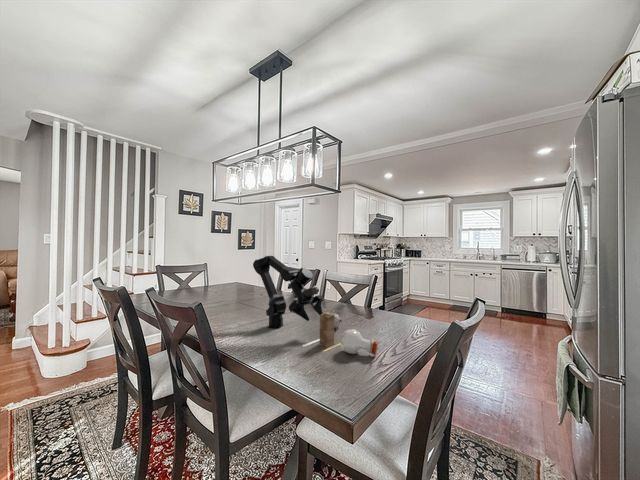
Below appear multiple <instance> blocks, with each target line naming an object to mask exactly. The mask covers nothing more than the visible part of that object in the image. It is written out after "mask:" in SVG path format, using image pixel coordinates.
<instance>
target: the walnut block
mask: <svg viewBox="0 0 640 480" xmlns="http://www.w3.org/2000/svg"><path fill="white" fill-rule="evenodd" d="M334 314H335V313H332V314H331V312H330V313H329V312H323V314H321V315H319V339H320V341H319V345H320V346H323V347H326V348H328V347H329V348H330V347H332V346H335V328H334V316H335V315H334Z"/></svg>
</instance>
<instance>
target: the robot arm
mask: <svg viewBox="0 0 640 480" xmlns="http://www.w3.org/2000/svg"><path fill="white" fill-rule="evenodd" d="M252 266H253V269H254V271H255V272H256V274H258V275H259V276H260V278H261V280H262V283H263V285H264V288H265V291H266V293H267V296H268V299H269V301H268V308H267V310H266V311H265V313H266V314H265V315H266V316H268V325H267V328H271V329H280V328H281V327H283V326H284V318H283V315H285V314H286V309H287V302H286V300H285V297H284V296H283V295H281V296H280V295H279V294H278V290H277V289H276V286H275V283H274V281H273V278H272V276H271V274H270V268H272V269H274V270H275V271H276V272H278V273H279V274H280V277H281V278H282V279H283V281H285V282H290V283H288V284H287V285H288V286H287V289H288V290H290V289H291V291H292V292H293V294H294V296H293V298H294V300H293V301H292V302H291V303H290V304H289V306H288V311H290V313H293V314H296V315H297V316H299V317H301V318H302V319H304V320H306V321H307V322H309V321H310V318H309V315H308V314H307V312H306V310H305V306H307V305H311V307H312V309H313V310H314V311H315V312H316V313H317V314H318V315H319V316H320V315H321V314H324V312H323V309H322V303H323V301H324V296H323V295H322V294H319V292H320V288H319V287H318V285H314V286H312V287H310V288H307V287H306V288H305V286H306V285H307V284H308V282H310V280H311V279H312V278H313V272H312V271H310V270H309V269H308V268H306V267H304V266H303V267H302V266H301V267H300V269H299V270H297V269H295V268H293V267H291V266H290V267H289V266H287V265H285V263H282V262H281V261H280V260H279V259H277V258H276V257H275V256H274V255H266V256H264V257H261V258H259V259H255V260H254V261H253V262H252Z"/></svg>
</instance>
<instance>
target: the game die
mask: <svg viewBox="0 0 640 480" xmlns="http://www.w3.org/2000/svg"><path fill="white" fill-rule="evenodd" d="M328 313H331V312H330V311H329V312H328ZM331 314H334V315H335V316H334V329H338V330H340V329H339V326H340V324H341V323H342V319H341V318H340V316H339V314H340V312H337V313H331Z"/></svg>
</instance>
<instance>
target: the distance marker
mask: <svg viewBox="0 0 640 480" xmlns="http://www.w3.org/2000/svg"><path fill="white" fill-rule="evenodd" d="M338 346H341V342H339V343H337V344H334V345H332V346H329V348H328V347H327V348H326V349H323V350H322V352H325V353H326V351H329V350H331V349H334V348H337V347H338Z"/></svg>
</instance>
